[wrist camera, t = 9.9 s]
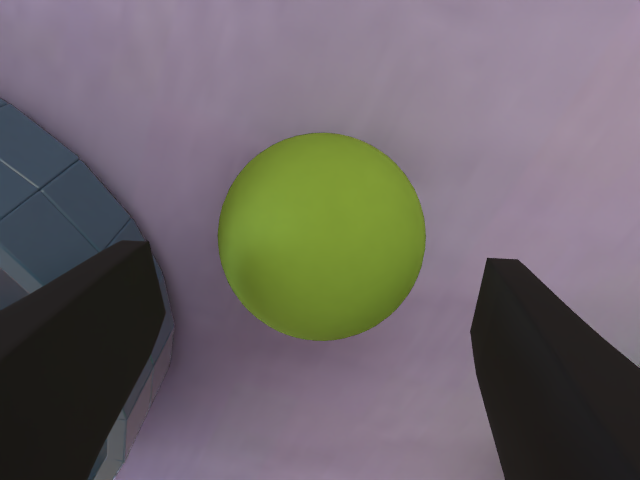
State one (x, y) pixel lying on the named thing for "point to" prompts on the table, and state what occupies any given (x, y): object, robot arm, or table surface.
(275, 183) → the lime
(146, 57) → the table surface
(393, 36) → the table surface
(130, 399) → the bowl
